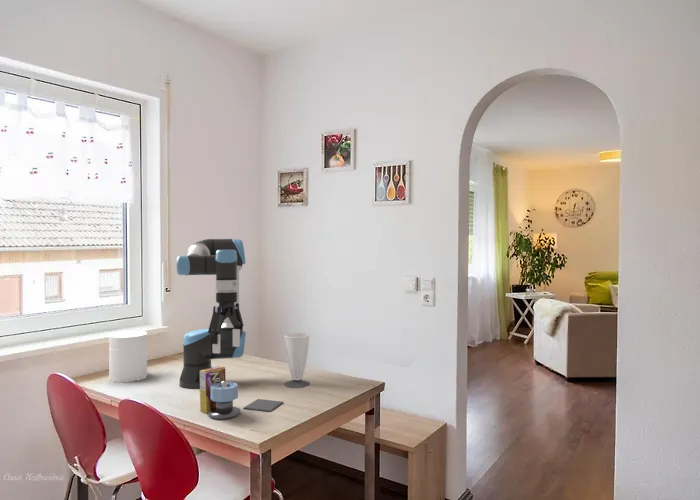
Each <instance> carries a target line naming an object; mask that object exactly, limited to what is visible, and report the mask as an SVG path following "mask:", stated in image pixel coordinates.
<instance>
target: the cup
mask: <svg viewBox="0 0 700 500" xmlns="http://www.w3.org/2000/svg"><path fill="white" fill-rule="evenodd" d="M283 337H284V345H285V353H286V359H287V364H288V370H289V374H290V376H291V380H287V381H285V382H284V383H283V385H284V386H285V387H287V388H291V389H292V388H295V389H299V388H305V386H306V387H308V386H310V385H311V382H310V381H308V380H305V379H303V377H304V374H305V369H306V365H307V359H308V351H309V342H310V337H311V334H309V333H306V332H291V333H286V334H284V335H283Z"/></svg>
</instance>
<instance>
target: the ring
mask: <svg viewBox="0 0 700 500" xmlns="http://www.w3.org/2000/svg"><path fill="white" fill-rule="evenodd" d="M210 389H211V400H212V401H215V402H227V401H233V402H234V401H235V400H236V399H238V398H239V385H238V383H236V382H231V381H227V387H221V383H215V384H213V385H211V386H210Z"/></svg>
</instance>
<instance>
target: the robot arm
mask: <svg viewBox="0 0 700 500" xmlns="http://www.w3.org/2000/svg"><path fill="white" fill-rule="evenodd" d="M243 242H244V241H242V239H239V238H238V239H237V238H236V239H235V238H207V239H201V240H199V241H196V242H195V243H193V244H192V245H190V246H189V248H188V250H187V252H186V253H187V254H183V255H178V256H177V258H176V272H177V273H176V274H177V275H179V276H204V275H205V276H215V291H216V293H215V302H216V303H217V304H218V306H213V311H212V315H211V320H210V323H209V326H208V328H202V329H196V330H192V331H189V332H187V333H185V334H184V336H183V342H182V343H183V344H182V346H183V368H182V370H181V373H180V376H179V380H178V382H179V386H180V387H182V388H186V389H200V371H201V370H205V369H209V368H213V367H212V360H223V359H224V360H225V359H239V358H241V357H242V356H244V351H245V345H246V344H245V343H246V336H247V335H246V334H247V332H246V331H245V330H244V322H243V317H242V314H241V309H240V271H241V270H242V269H243V265H246V253H245V248H244V243H243Z"/></svg>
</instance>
